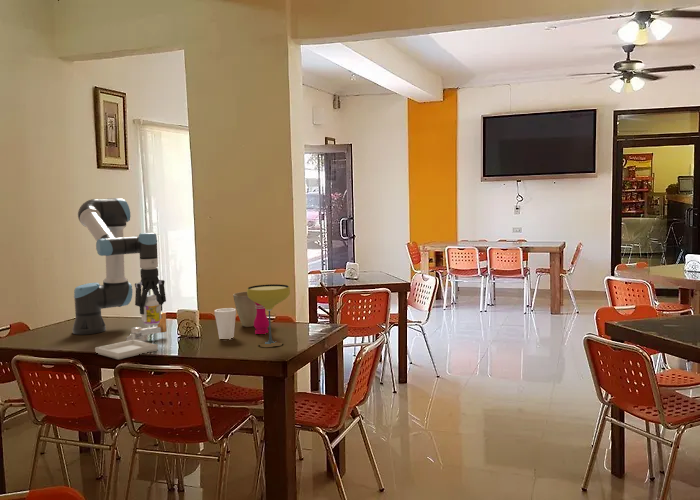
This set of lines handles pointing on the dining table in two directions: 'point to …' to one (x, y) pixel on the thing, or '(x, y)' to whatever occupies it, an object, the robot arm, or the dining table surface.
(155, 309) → the supplement bottle
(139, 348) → the tray
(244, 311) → the plant pot
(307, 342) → the dining table surface
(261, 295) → the cocktail glass
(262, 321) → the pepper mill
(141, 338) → the crank base
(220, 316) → the foam cup
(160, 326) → the crank lever
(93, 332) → the robot arm
